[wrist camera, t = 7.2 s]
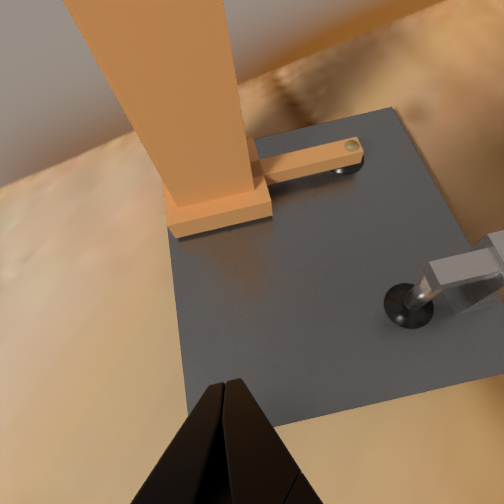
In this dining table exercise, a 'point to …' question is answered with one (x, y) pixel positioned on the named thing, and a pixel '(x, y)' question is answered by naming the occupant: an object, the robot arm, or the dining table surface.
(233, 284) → the plate
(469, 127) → the dining table surface
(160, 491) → the robot arm
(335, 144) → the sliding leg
